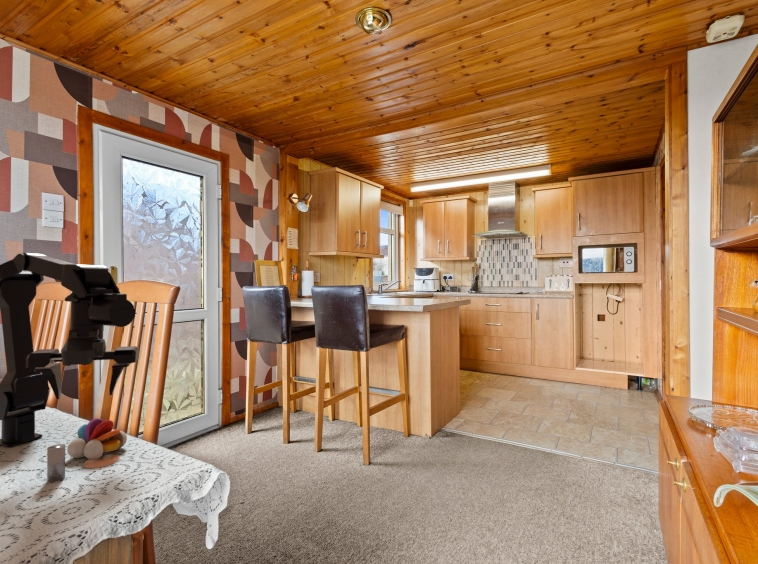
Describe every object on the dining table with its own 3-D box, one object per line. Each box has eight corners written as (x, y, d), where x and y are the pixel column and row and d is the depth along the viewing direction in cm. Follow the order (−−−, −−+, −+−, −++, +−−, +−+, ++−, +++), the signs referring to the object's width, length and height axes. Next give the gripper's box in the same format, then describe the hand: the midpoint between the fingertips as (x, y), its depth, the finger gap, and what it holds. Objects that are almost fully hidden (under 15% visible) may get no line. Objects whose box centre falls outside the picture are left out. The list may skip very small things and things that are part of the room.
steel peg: (43, 480, 73) (44, 448, 73) (59, 474, 76) (59, 443, 76) (52, 483, 72) (52, 450, 72) (68, 477, 75) (68, 445, 75)
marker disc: (76, 465, 79) (76, 464, 79) (106, 453, 85) (106, 452, 85) (96, 470, 77) (96, 469, 77) (125, 457, 83) (125, 457, 83)
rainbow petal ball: (99, 463, 80) (99, 427, 80) (59, 459, 82) (59, 424, 82) (133, 447, 88) (133, 414, 88) (96, 443, 90) (96, 411, 90)
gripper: (14, 329, 73) (12, 413, 73) (132, 327, 81) (130, 403, 81) (37, 322, 83) (35, 396, 83) (140, 321, 91) (138, 389, 91)
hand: (85, 396), depth 84 cm, fingers open, 9 cm apart
